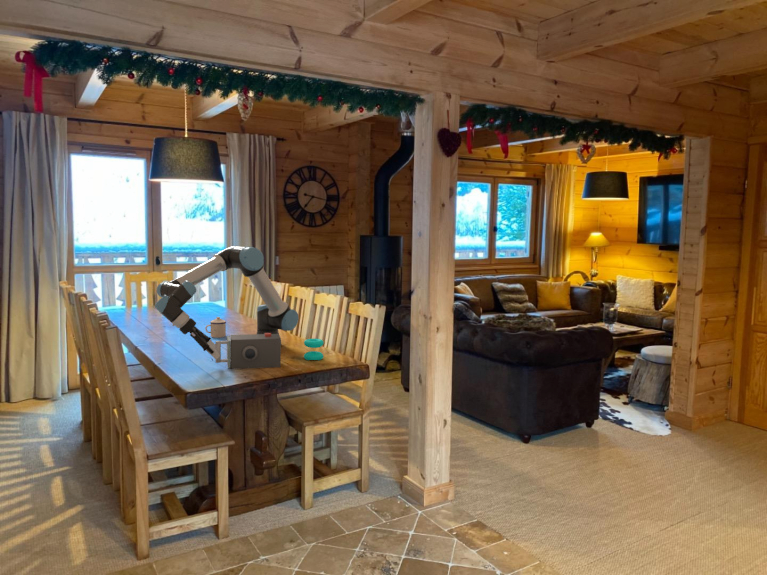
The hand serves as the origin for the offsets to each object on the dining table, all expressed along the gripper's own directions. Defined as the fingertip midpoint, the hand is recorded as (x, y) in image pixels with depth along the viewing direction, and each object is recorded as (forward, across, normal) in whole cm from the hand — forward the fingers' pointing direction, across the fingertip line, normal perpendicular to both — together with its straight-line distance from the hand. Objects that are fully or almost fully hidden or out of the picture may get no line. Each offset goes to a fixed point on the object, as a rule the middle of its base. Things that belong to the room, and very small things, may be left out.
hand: (218, 354), depth 287 cm
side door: (+6, -5, -3) cm, 8 cm away
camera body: (+17, -3, +7) cm, 19 cm away
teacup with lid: (+4, -78, -6) cm, 79 cm away
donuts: (+38, -12, +28) cm, 49 cm away
